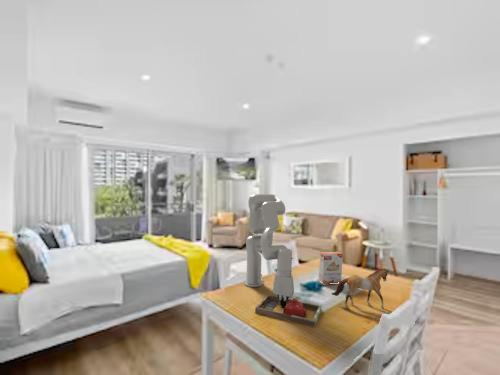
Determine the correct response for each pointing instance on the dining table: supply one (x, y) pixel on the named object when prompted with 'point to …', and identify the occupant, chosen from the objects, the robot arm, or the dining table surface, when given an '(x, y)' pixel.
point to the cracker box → (330, 267)
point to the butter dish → (295, 308)
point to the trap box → (274, 301)
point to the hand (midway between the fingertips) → (283, 307)
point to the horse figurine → (363, 285)
